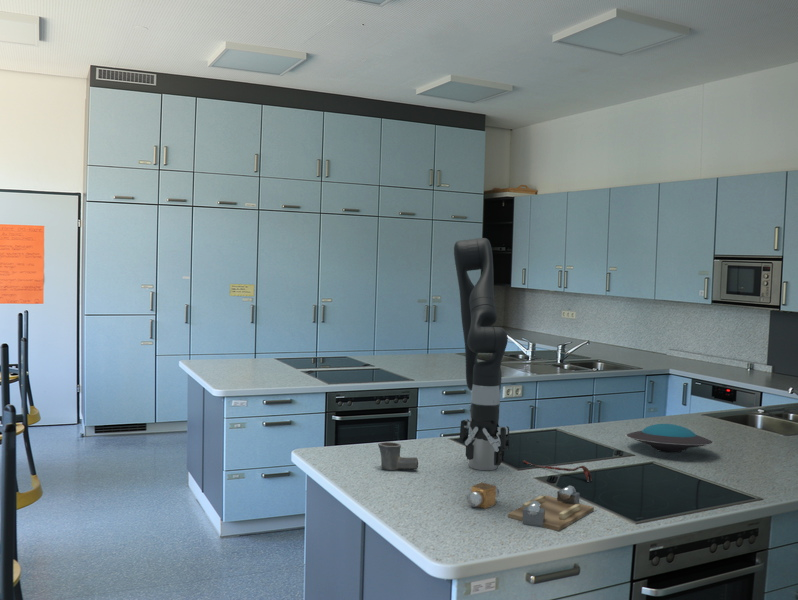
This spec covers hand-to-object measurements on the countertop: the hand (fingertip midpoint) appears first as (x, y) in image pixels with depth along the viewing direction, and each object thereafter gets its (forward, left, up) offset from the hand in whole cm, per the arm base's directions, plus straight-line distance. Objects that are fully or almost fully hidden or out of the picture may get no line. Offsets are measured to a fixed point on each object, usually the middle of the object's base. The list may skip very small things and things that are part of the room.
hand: (483, 462), depth 183 cm
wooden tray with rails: (-6, +17, -11) cm, 22 cm away
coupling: (0, 0, -12) cm, 12 cm away
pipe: (-10, -37, -12) cm, 40 cm away
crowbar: (-42, 0, -12) cm, 44 cm away
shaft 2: (-16, +17, -11) cm, 26 cm away
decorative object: (-95, +17, -12) cm, 97 cm away
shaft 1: (+3, +17, -11) cm, 21 cm away
